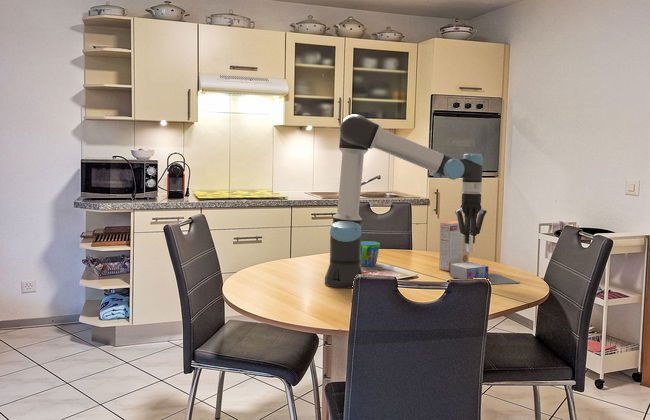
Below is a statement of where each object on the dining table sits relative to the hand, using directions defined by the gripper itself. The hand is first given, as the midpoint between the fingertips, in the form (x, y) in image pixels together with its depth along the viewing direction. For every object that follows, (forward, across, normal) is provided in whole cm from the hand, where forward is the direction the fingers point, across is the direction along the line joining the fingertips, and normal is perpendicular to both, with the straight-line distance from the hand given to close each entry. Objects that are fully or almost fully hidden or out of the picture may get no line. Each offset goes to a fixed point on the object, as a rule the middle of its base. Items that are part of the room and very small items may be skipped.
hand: (469, 251), depth 237 cm
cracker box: (+12, +5, +22) cm, 26 cm away
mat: (+12, +8, 0) cm, 14 cm away
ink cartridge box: (+9, -4, +1) cm, 10 cm away
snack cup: (+12, -30, +36) cm, 48 cm away
